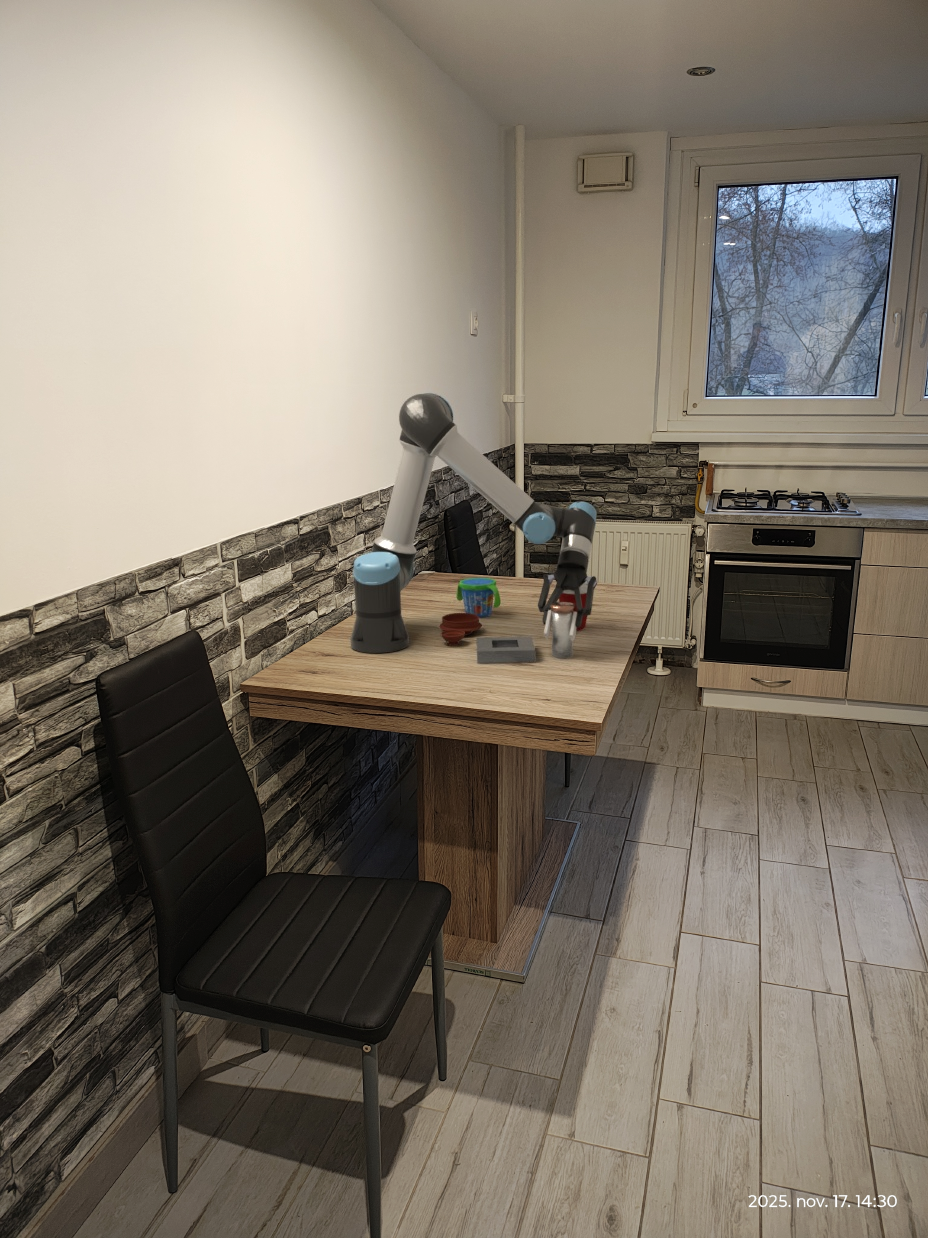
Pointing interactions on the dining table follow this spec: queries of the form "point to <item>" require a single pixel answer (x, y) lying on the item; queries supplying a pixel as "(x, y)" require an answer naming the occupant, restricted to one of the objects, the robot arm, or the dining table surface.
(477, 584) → the snack cup
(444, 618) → the pottery
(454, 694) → the dining table surface
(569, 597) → the plastic cup
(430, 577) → the dining table surface
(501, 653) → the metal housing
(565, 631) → the silver copper-capped cylinder
